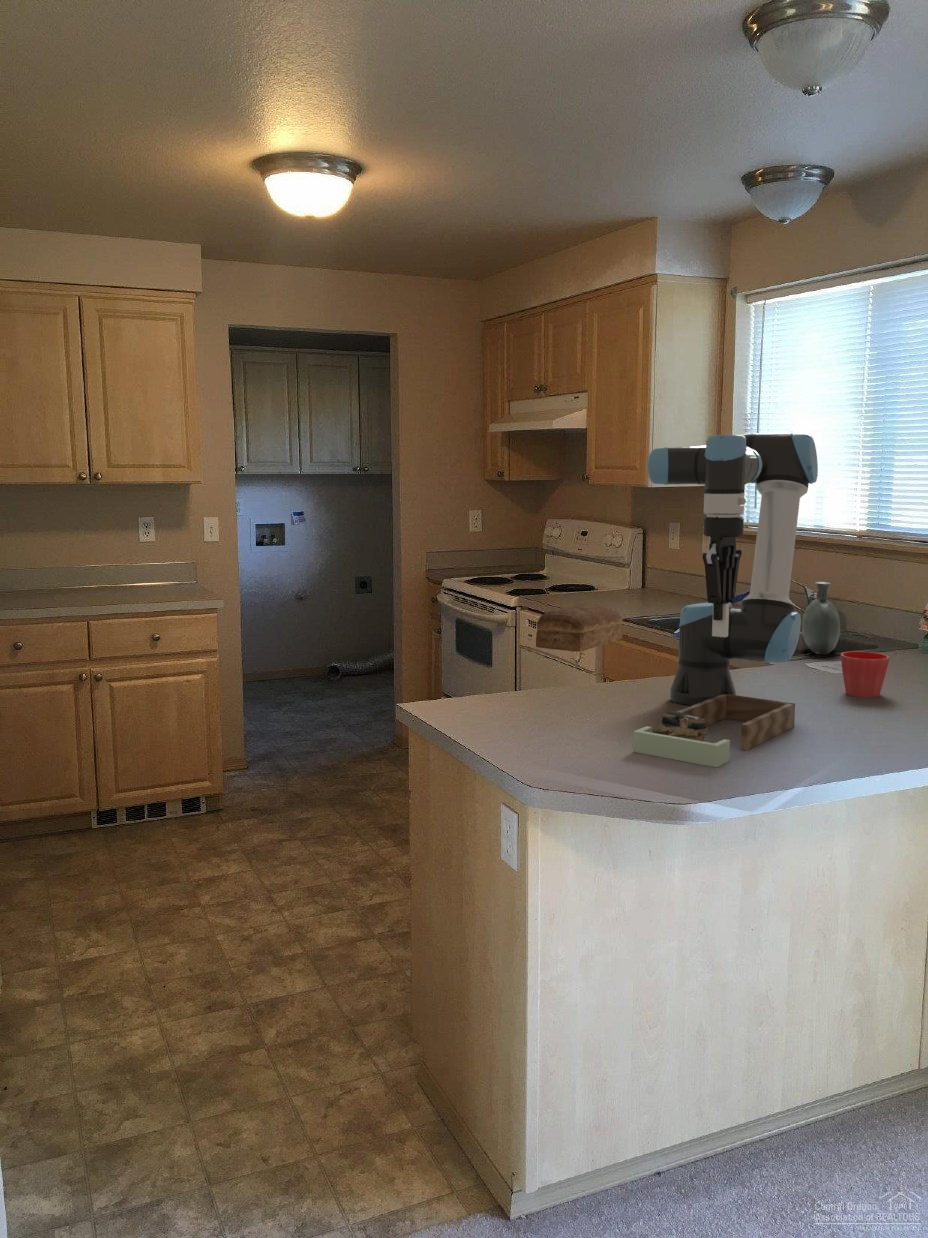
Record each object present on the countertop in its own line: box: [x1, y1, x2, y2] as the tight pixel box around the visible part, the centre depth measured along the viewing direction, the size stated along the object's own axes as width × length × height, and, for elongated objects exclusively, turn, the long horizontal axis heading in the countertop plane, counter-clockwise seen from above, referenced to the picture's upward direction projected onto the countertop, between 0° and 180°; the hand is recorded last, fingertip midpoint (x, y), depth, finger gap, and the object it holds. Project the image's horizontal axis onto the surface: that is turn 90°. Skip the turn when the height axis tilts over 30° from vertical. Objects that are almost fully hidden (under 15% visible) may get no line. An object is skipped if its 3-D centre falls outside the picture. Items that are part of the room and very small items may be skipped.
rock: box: [652, 711, 709, 742], centre depth 196 cm, size 9×9×6 cm
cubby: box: [676, 694, 796, 752], centre depth 207 cm, size 24×16×5 cm, turn 141°
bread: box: [535, 602, 624, 653], centre depth 316 cm, size 17×30×13 cm, turn 144°
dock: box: [632, 725, 731, 768], centre depth 189 cm, size 5×17×4 cm, turn 51°
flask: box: [801, 581, 841, 656], centre depth 298 cm, size 12×17×22 cm
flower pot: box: [840, 650, 890, 698], centre depth 244 cm, size 11×11×10 cm
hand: (720, 636), depth 198 cm, fingers closed
